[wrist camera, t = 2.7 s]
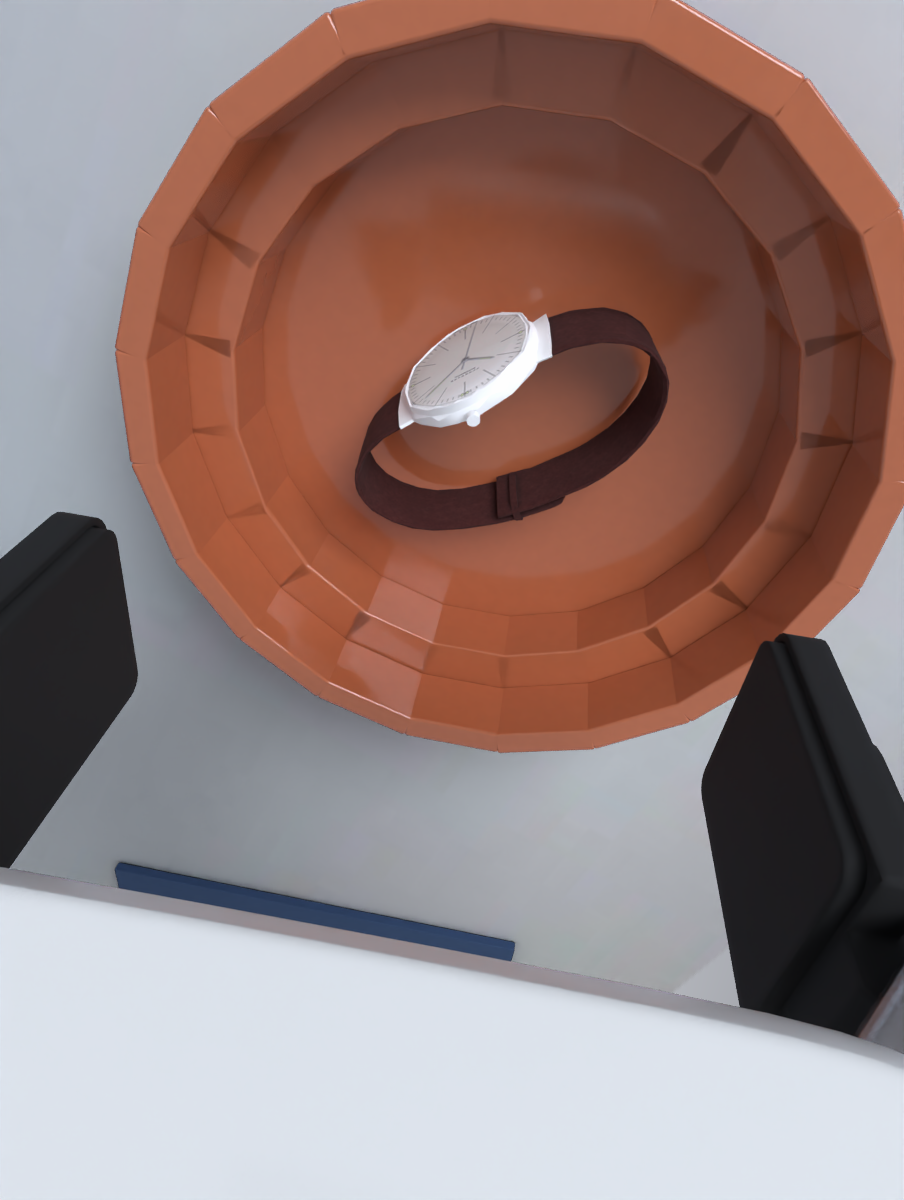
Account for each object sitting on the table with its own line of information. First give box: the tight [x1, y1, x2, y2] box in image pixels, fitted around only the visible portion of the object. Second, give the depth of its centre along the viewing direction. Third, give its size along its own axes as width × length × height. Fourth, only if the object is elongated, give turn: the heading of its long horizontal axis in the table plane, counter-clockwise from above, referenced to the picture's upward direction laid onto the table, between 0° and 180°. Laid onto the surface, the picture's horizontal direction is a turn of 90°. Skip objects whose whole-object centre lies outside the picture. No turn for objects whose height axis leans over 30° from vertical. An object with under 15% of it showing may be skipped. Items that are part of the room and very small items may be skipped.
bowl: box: [115, 0, 904, 753], centre depth 18 cm, size 16×16×4 cm
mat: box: [115, 863, 515, 961], centre depth 38 cm, size 18×14×1 cm
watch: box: [355, 307, 670, 531], centre depth 18 cm, size 8×5×4 cm, turn 118°
